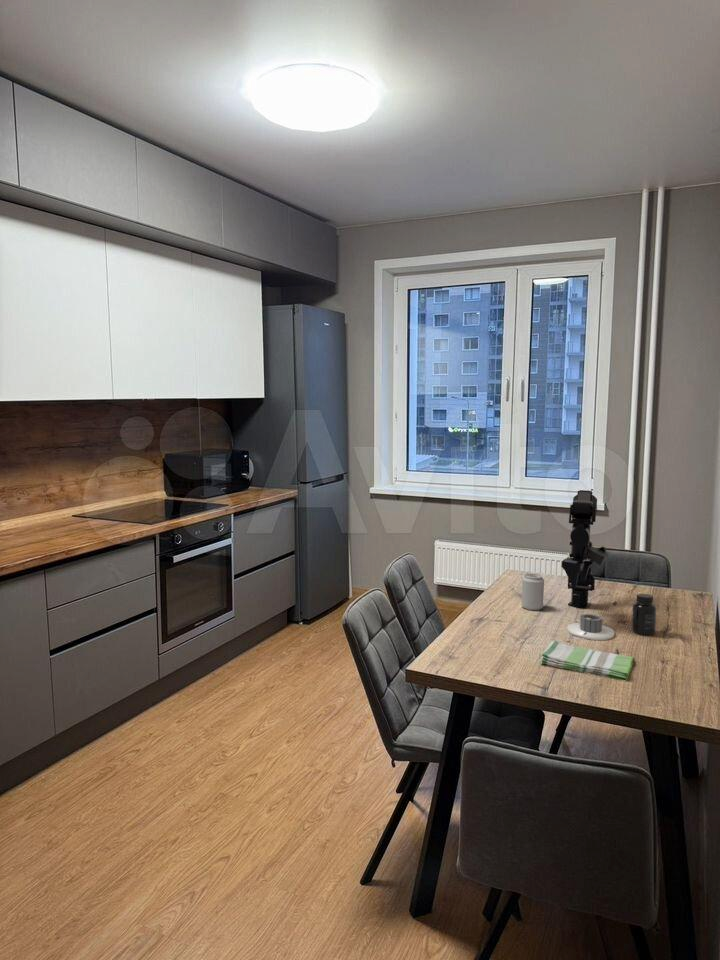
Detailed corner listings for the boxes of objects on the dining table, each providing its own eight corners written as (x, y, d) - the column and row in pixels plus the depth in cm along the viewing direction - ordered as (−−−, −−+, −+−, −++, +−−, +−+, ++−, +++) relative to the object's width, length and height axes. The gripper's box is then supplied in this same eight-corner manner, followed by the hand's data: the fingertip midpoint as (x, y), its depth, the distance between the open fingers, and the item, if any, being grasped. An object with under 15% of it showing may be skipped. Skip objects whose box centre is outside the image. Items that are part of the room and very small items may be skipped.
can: (541, 605, 235) (542, 572, 234) (544, 611, 228) (546, 577, 226) (519, 604, 236) (521, 571, 235) (522, 610, 228) (524, 577, 227)
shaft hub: (576, 622, 216) (576, 610, 216) (619, 631, 208) (620, 619, 207) (560, 633, 205) (561, 621, 205) (606, 643, 197) (606, 630, 196)
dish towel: (551, 647, 195) (552, 635, 194) (634, 661, 184) (635, 649, 184) (538, 666, 180) (538, 654, 179) (627, 683, 169) (628, 670, 169)
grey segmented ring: (584, 624, 211) (584, 611, 210) (604, 629, 207) (604, 615, 206) (577, 629, 206) (577, 616, 205) (597, 634, 202) (598, 620, 201)
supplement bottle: (655, 630, 209) (657, 594, 207) (654, 637, 203) (657, 599, 201) (632, 627, 212) (634, 591, 210) (631, 634, 205) (633, 597, 204)
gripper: (596, 547, 206) (594, 595, 208) (613, 537, 220) (611, 581, 223) (561, 542, 212) (559, 589, 214) (580, 532, 227) (578, 576, 229)
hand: (578, 584), depth 220 cm, fingers open, 9 cm apart
